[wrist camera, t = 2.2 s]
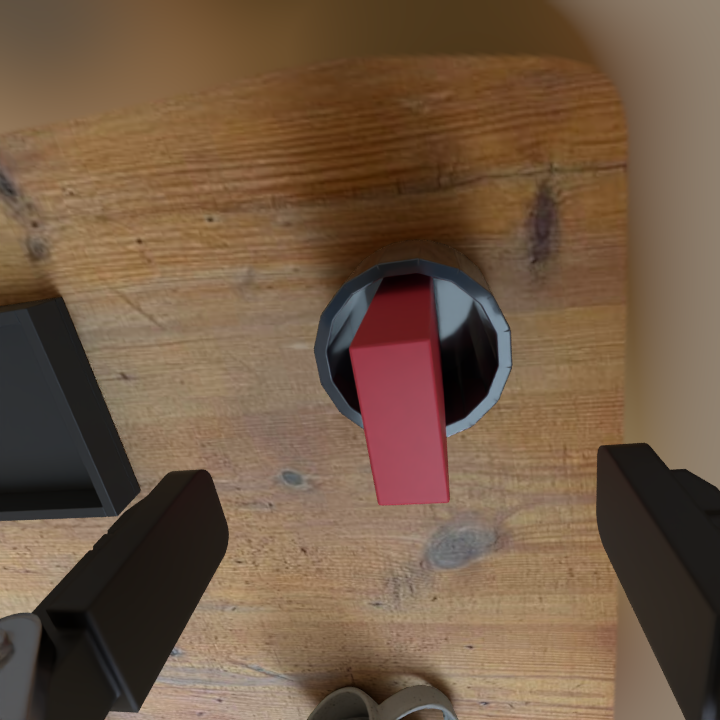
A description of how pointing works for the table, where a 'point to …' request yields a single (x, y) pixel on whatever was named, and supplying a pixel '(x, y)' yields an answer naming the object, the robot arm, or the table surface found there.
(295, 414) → the table surface
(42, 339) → the tray
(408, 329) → the block
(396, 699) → the ceramic mug
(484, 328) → the cup
